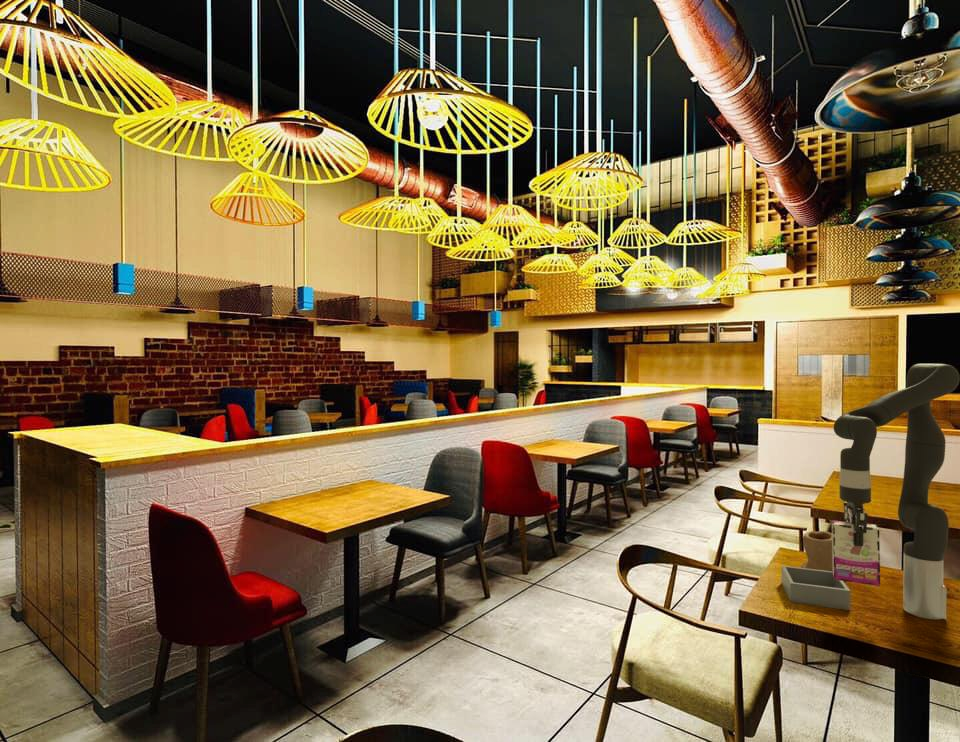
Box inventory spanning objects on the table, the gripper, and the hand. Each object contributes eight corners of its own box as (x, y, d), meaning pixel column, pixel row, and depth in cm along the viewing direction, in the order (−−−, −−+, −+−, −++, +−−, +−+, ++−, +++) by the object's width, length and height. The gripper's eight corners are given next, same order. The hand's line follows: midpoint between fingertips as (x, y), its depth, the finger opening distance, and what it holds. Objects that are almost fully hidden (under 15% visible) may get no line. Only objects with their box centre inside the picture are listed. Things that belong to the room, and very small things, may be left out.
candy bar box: (877, 580, 154) (877, 524, 154) (880, 586, 150) (880, 528, 150) (831, 573, 160) (831, 519, 159) (833, 579, 155) (833, 523, 155)
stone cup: (799, 575, 190) (799, 533, 190) (802, 565, 199) (802, 525, 199) (850, 585, 181) (851, 541, 181) (851, 574, 191) (852, 532, 190)
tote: (836, 589, 177) (836, 571, 177) (850, 610, 162) (850, 590, 162) (781, 582, 183) (781, 565, 183) (790, 602, 168) (790, 583, 168)
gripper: (879, 491, 147) (879, 552, 147) (862, 480, 160) (862, 536, 160) (846, 489, 149) (847, 549, 149) (833, 478, 163) (833, 534, 163)
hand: (855, 542), depth 155 cm, fingers closed on candy bar box, 5 cm apart
